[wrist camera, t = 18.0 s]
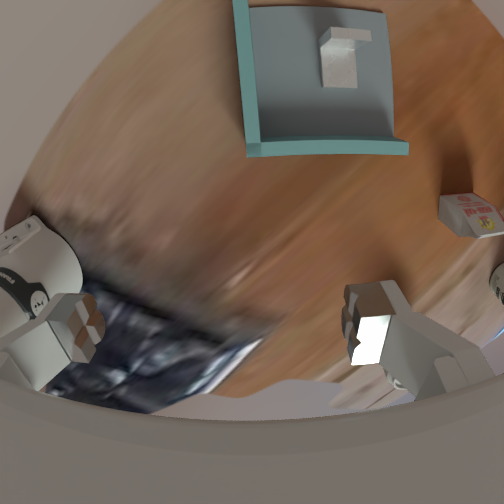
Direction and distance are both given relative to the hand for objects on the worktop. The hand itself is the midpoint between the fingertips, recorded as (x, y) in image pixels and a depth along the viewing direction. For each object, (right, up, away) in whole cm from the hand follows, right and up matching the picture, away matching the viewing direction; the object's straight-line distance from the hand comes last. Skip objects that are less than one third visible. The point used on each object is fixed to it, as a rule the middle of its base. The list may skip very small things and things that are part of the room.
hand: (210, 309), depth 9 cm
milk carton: (+31, +9, +28) cm, 43 cm away
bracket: (+11, +24, +19) cm, 32 cm away
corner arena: (+9, +22, +21) cm, 32 cm away
